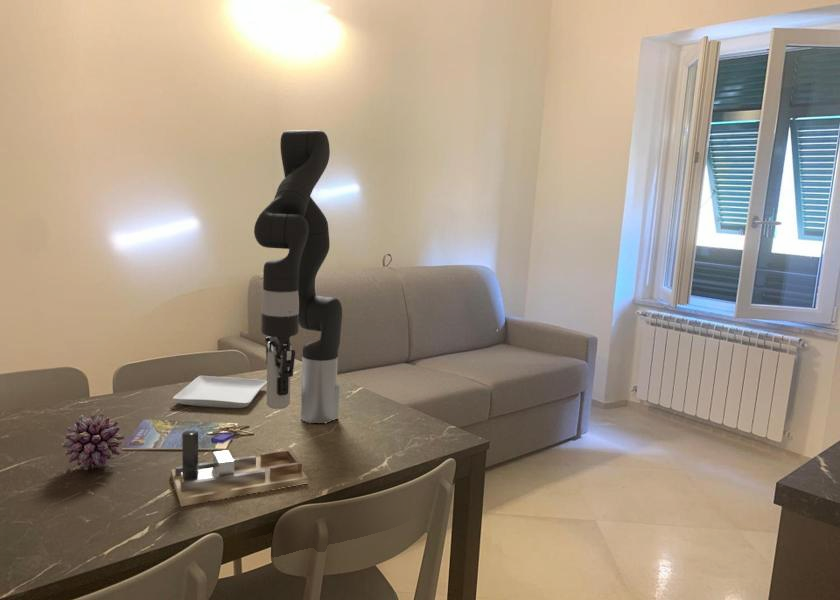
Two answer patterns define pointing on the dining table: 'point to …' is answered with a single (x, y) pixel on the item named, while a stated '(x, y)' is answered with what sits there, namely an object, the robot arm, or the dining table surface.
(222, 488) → the wooden tray
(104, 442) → the flower
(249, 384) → the salad plate
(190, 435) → the press block
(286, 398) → the beverage can
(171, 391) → the dining table surface
